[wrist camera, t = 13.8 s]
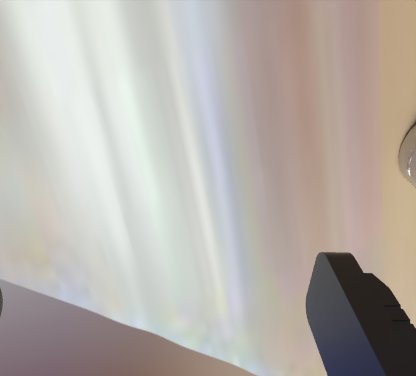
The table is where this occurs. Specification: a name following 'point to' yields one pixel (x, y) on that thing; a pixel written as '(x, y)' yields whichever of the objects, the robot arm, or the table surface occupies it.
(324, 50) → the table surface
